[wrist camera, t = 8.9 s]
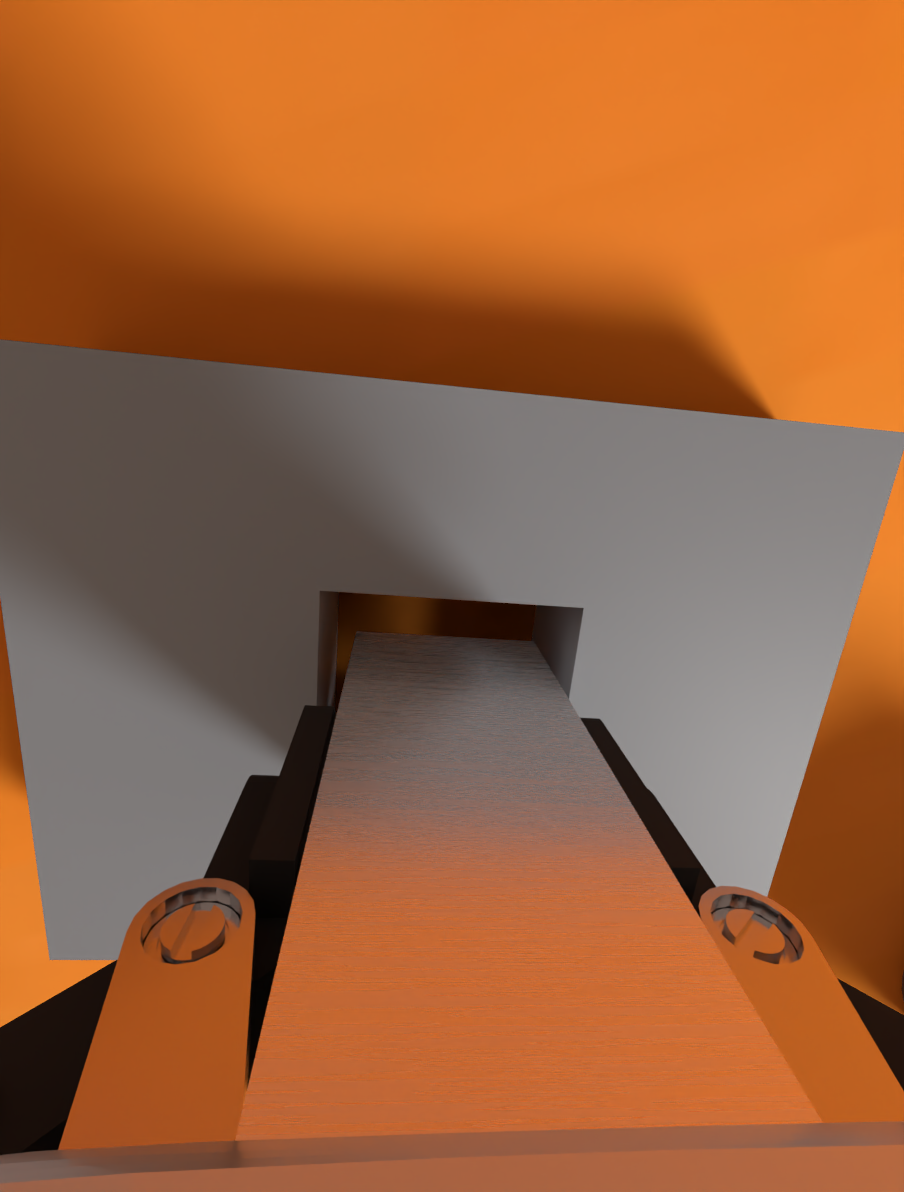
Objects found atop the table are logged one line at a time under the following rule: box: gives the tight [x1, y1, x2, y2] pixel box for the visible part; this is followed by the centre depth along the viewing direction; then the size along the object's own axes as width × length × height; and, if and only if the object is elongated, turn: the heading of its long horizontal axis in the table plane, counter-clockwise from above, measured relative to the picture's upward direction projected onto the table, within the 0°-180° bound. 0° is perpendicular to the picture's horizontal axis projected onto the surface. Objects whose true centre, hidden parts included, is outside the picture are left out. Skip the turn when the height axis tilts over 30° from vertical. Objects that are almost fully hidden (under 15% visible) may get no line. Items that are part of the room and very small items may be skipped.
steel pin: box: [235, 631, 823, 1141], centre depth 8 cm, size 4×4×11 cm
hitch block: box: [0, 340, 904, 960], centre depth 15 cm, size 14×18×4 cm
